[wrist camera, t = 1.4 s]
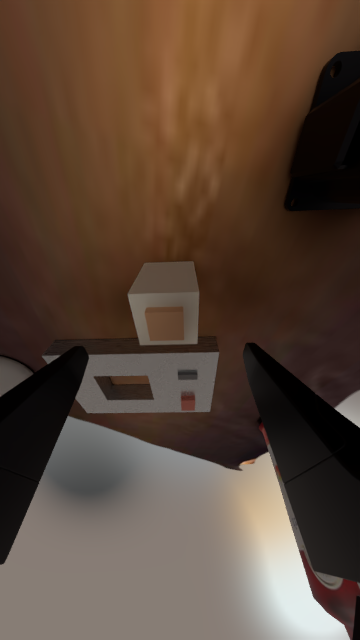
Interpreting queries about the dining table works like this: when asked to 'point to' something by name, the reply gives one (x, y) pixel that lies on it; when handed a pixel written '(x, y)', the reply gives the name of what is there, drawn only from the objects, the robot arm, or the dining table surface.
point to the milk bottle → (12, 374)
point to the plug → (166, 303)
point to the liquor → (325, 588)
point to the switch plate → (153, 360)
